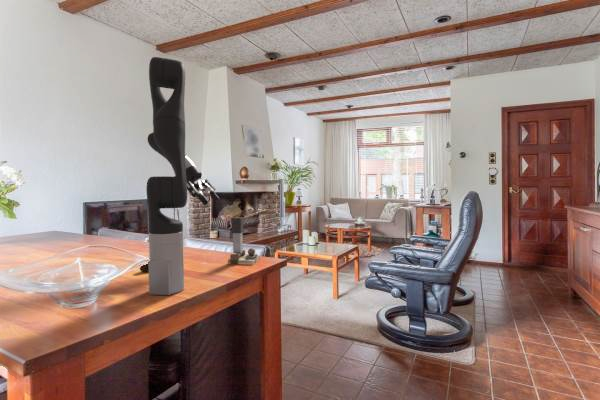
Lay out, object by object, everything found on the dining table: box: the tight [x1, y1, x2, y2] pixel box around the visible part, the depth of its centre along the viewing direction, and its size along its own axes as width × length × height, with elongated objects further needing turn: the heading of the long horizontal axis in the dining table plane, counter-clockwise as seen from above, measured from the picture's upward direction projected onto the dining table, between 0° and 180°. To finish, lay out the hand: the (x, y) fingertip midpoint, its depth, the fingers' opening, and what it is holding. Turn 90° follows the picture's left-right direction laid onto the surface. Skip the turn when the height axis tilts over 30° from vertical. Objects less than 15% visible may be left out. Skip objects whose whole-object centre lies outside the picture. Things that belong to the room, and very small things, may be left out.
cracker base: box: [227, 248, 260, 266], centre depth 137 cm, size 10×10×5 cm
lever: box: [231, 216, 244, 256], centre depth 137 cm, size 6×4×16 cm, turn 173°
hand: (212, 202), depth 135 cm, fingers open, 8 cm apart
